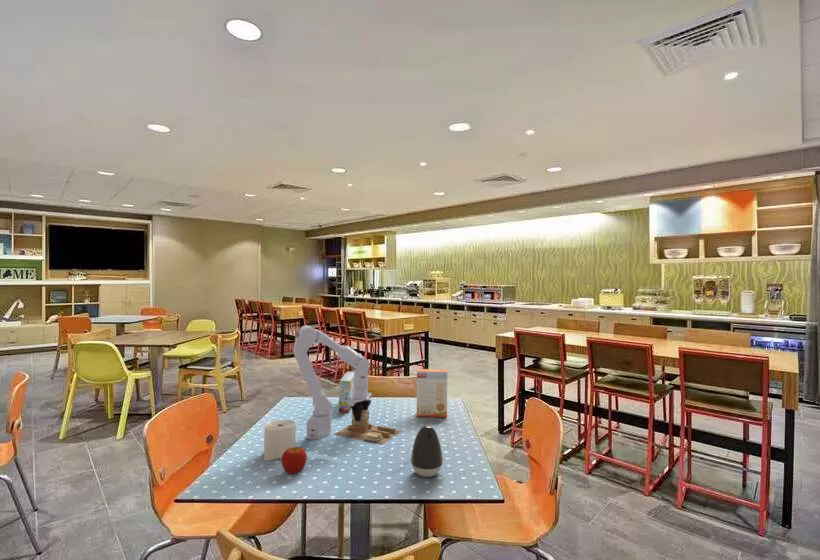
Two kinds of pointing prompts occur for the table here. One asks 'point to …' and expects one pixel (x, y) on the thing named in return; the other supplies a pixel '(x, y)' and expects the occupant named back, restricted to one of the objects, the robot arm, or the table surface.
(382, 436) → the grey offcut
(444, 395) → the cracker box
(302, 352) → the robot arm
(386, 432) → the rack
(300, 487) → the table surface
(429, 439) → the dark grey egg shape
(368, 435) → the oak offcut
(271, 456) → the toilet tissue
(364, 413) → the birch board
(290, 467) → the apple
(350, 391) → the snack box
